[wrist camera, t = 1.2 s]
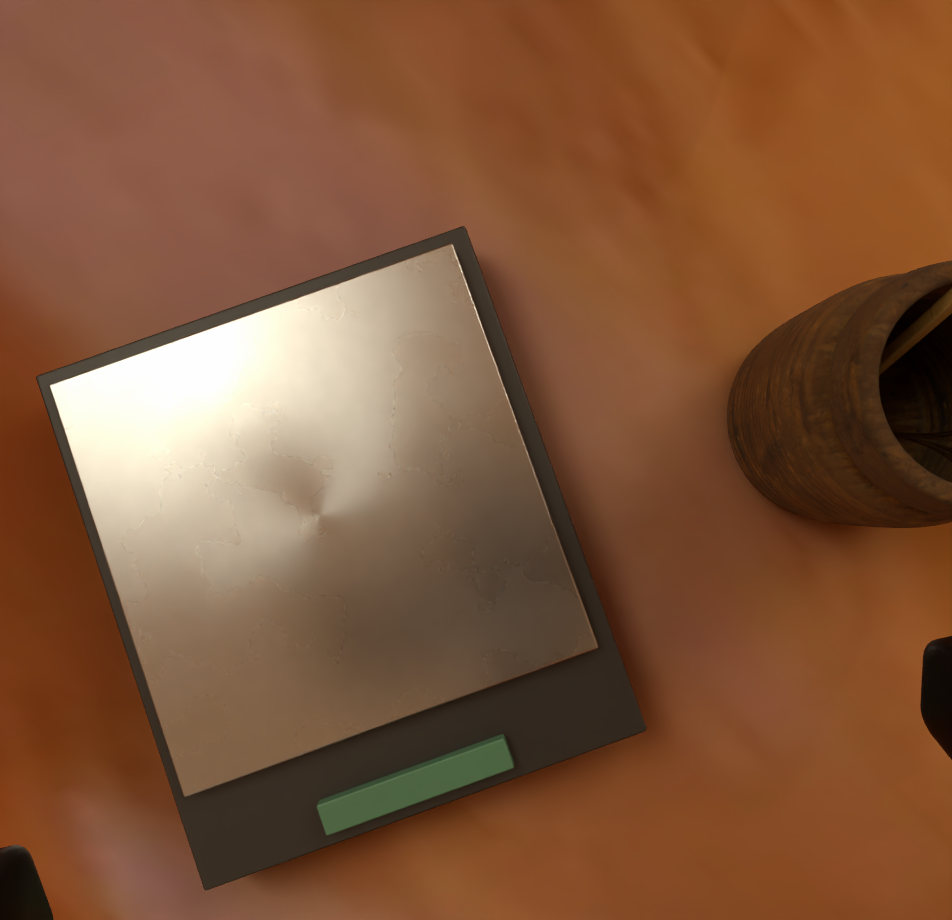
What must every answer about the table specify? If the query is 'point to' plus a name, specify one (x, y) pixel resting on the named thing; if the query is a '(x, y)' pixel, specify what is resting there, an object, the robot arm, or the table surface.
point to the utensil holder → (854, 405)
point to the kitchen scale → (338, 557)
